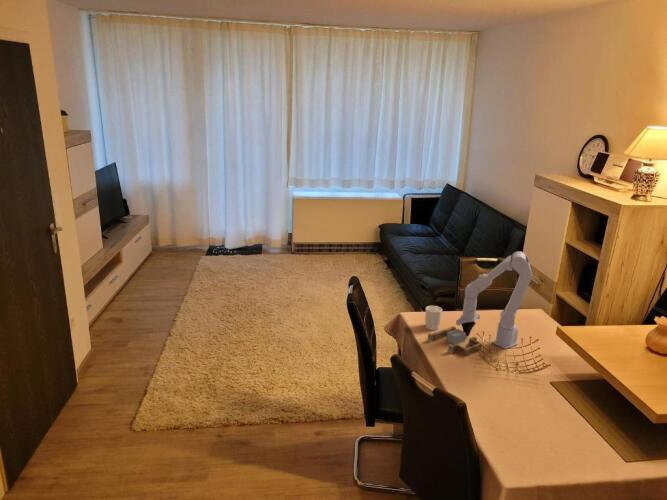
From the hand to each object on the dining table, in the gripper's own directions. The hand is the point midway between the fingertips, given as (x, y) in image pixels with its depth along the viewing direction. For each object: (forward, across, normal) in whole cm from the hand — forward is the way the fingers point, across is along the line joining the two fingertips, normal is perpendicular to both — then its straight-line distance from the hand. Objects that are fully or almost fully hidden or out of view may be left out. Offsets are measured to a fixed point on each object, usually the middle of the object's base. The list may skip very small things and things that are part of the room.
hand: (466, 335), depth 236 cm
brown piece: (+1, +10, +2) cm, 10 cm away
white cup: (+1, +6, -16) cm, 17 cm away
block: (+1, +7, 0) cm, 7 cm away
